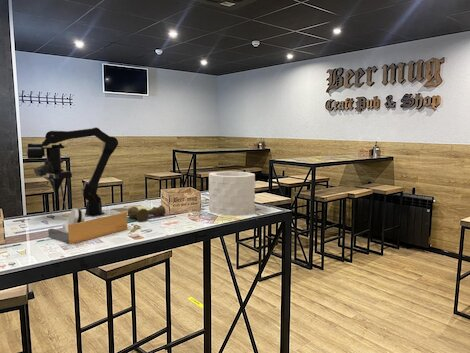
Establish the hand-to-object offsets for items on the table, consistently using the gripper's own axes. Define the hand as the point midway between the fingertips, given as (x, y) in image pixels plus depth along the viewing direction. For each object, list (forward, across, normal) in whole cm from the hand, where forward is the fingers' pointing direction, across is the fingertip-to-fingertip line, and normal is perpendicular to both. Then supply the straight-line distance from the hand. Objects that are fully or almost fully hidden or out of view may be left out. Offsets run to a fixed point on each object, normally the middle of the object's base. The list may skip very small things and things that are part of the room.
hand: (55, 192), depth 166 cm
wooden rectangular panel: (+12, +33, -6) cm, 36 cm away
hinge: (+12, +26, -8) cm, 30 cm away
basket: (+12, +56, +61) cm, 84 cm away
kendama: (+12, +33, +23) cm, 43 cm away
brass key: (+12, +45, +8) cm, 47 cm away
